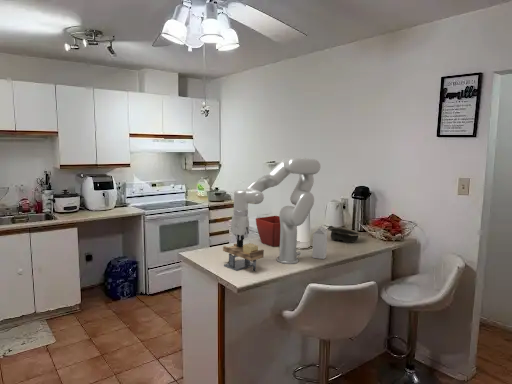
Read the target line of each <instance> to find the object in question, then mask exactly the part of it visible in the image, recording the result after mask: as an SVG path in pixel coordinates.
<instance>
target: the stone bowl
mask: <svg viewBox="0 0 512 384" xmlns="http://www.w3.org/2000/svg"><path fill="white" fill-rule="evenodd" d="M326 230H329V231H330V232H331V233H330V238H331V240H333V241H341V240H342V241H343V243H346V244H349V243H351V242H352V243H355V242H356V241H357V240H358V239H359V236H360V237H361V236H363V233H362V232H360V231H357V230H353V229H349V228H345V227H334V226H333V225H329V226H328V228H326Z"/></svg>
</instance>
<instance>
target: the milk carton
mask: <svg viewBox="0 0 512 384" xmlns="http://www.w3.org/2000/svg"><path fill="white" fill-rule="evenodd" d="M312 235H313V236H312V251H311V252H312V253H311V254H312V255H311V257H312V258H314V259H320V260H325V259H326V257H327V247H328V246H327V245H328V231H327V228H325V227H323V224H321V225H320V226H319V228H318V229H316V230H315V231H314V232H313V233H312Z"/></svg>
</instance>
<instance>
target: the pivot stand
mask: <svg viewBox="0 0 512 384" xmlns="http://www.w3.org/2000/svg"><path fill="white" fill-rule="evenodd" d="M238 257H239V256H236V255H233V254H230V253H228V263H224V264H223V267H225V268H228V269H230V270H233V271H236V272H237V271H241V270H246V269H248V268H252V272H256V271H257V259H256V260H253V261H250V260H247V259H244V258H242V259H240V260H236V258H238ZM239 258H240V257H239Z"/></svg>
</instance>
